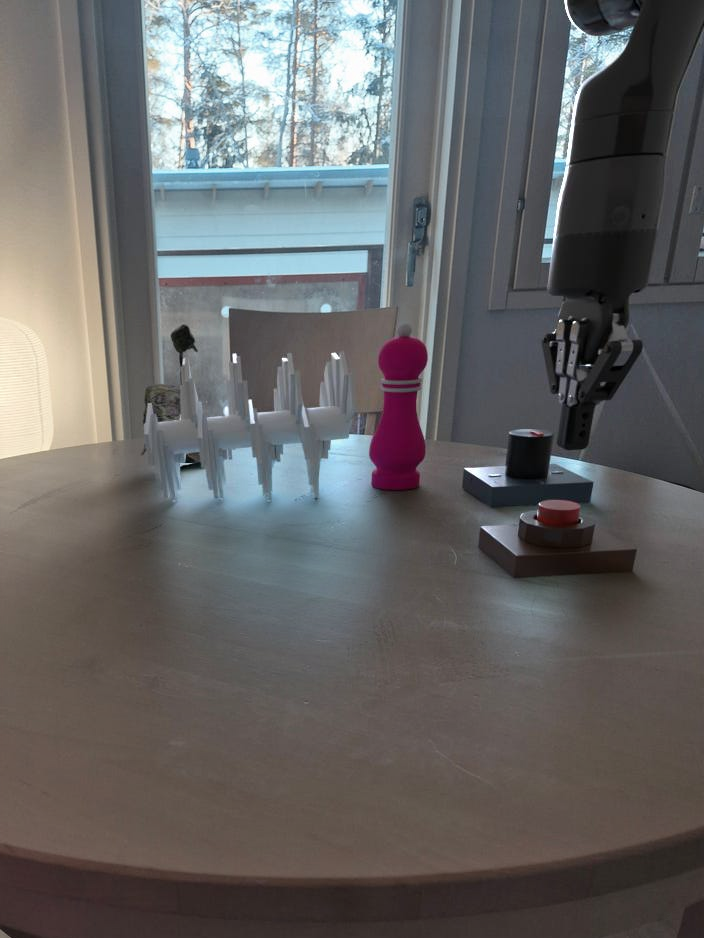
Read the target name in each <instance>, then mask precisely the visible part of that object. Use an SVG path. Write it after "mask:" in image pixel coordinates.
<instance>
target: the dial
mask: <svg viewBox="0 0 704 938" xmlns="http://www.w3.org/2000/svg"><path fill="white" fill-rule="evenodd" d="M554 438H555V433H554V432H553V431H551V430H547V429H534V428H523V429H520V428H519V429H514V430H510V431H509V434H508V441H507V448H506V449H507V450H506V458H505V465H504V466H505V472H504V474H505V475H507V476H509V477H513V478H520V479H539V478H544V477H547V476H548V471H549V464H551V463H550V462H551V457H552V451H553V445H554Z"/></svg>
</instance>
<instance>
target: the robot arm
mask: <svg viewBox="0 0 704 938" xmlns="http://www.w3.org/2000/svg"><path fill="white" fill-rule="evenodd" d="M564 5H565V11H566V13H567V16H568V18H569V20H570V22H571V23H572V24H573V25H574V27H576V28H577V30H579V31H580V32H581V33H584V35H585V34H586V35H588V36H593V37H605V36H606V37H607V36H611V35H615V34H618V33H622V32H624V31H627V30H629V29H632V30H631V32H630V34H629V37H628V39H627V40H626V41H627V42H626V43H625V46H624V48H623V50H622V51H621V52H620V53H619V54H618V56H616V58H614V59H613V60H612V61H611V62H610V63H608V64H607V65H605V66H604V67H602V68H600V69H599V70H597V71H596V72H594V73H593V74H591V75H590V76H589V77H587V78H586V79H585V80H584V81H583V82H582V84H581V85H580V87H579V88H578V91H577V94H576V96H575V102H574V106H573V112H572V119H571V127H570V133H569V141H568V149H567V157H566V163H565V164H566V166H565V171H564V177H563V181H562V185H561V188H560V193H559V197H558V202H557V209H556V216H555V226H554V233H553V239H552V247H551V255H550V263H549V271H548V279H547V288H546V291H547V293H548V294H549V295H550V296H554V297H563V299H562V302H561V306H560V309H559V312H558V315H557V325H556V328H555V330H554V331H553V332H544V333H543V334H542V337H541V349H542V354H543V359H544V364H545V369H546V370H545V371H546V374H547V380H548V385H549V390H550V391H549V392H550V394H551V395H557V401H558V404H559V405H561V412H560V417H559V425H558V431H557V439H556V445H557V446H558V447H559V448H561V449H564V450H566V451H579V450H581V451H582V450H585V449H587V448H588V446H589V444H590V437H591V431H592V424H593V419H594V413H595V407H596V406H599V405H600V404H601V402H604V401H611V400H612V399H613V397H614V396H615V394H617V392H618V389H619V388H620V386H621V385H622V384H623V382H624V380H625V379H626V377H627V376H628V374H629V373H630V371H631V369H632V368H633V366H634V365H635V363H636V361H637V360H638V358H639V357H640V355H641V353H642V351H643V347H644V343H643V340H642V339H640V338H638V339H630V336H629V335H628V332H627V328H628V325H629V322H630V296H631V295H632V294H639V293H641V292H643V291H644V290H646V289H647V287H648V285H649V281H650V276H651V271H652V264H653V258H654V254H655V249H656V243H657V238H658V232H659V227H660V220H661V216H662V215H661V214H662V210H663V204H664V200H665V199H664V197H665V191H666V179H667V178H666V175H667V173H666V172H667V164H668V163H667V162H668V155H669V149H670V144H671V138H672V133H673V127H674V121H675V116H676V110H677V104H678V98H679V94H680V92H681V91H680V90H681V87H682V86H683V83H684V80H685V78H686V76H687V73H688V71H689V69H690V68H689V67H690V65H691V64H692V61H693V59H694V56H695V54H696V52H697V50H698V49H697V48H698V46H699V43H700V40H701V38H702V36H703V33H704V0H564Z"/></svg>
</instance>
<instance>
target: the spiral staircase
mask: <svg viewBox="0 0 704 938" xmlns="http://www.w3.org/2000/svg"><path fill="white" fill-rule="evenodd" d="M330 353H331V355H330V356H331V359H330V361H326V364H325V367H324V372H323V380H324V381H320V385H319V386H320V387H319V402H318V403H319V405H318V406H319V407H318V406H317V407H305V404H304V400H303V392H302V381H301V370H300V369H295V368H294V367H295V366H294V361H293V355H292V352H287V353H286V354H287V355H286V356H287V357H281V366H277V374H276V385H277V386H276V387H277V388H273V408H274V409H273V411H263V412H258V408H254V407H253V400H252V399H250V398H249V389H248V380H243V374H242V361H241V355H237V353H232V361H229V362H228V367H229V368H228V371H229V378H226V379H225V382H226V394H227V395H226V397H227V406H225V407H224V415H221V416H219V415H218V416H209V417H208V416H207V415H208V414H207V413H206V412H204V411H203V403H202V402H203V401H202V400H199V395H198V392H197V388H196V384H195V379H194V378H192V372H191V365H190V357H188V356H185V357H184V356H183V364H182V366H181V367H180V366H179V370H180V369H181V381H180V383H181V382H182V385H181V384H180V385H179V388H180V402H181V414H180V418H179V420H175V421H164V422H158V420H157V416H156V414H153V407H152V403H148V406H147V414H146V423H145V424H144V425H143V436H144V445H145V446H146V451H145V452H146V455H147V459H148V465H149V467H153V475H154V478H155V481H156V484H157V488H158V491H163V499H170V498H171V501H172V500H176V497H177V498H178V491H182V483H181V467H180V463H185V458H186V454H189V453H193V452H200V459H201V462H200V467H201V469H205V474H206V475H205V476H206V481H207V486H208V491H212V492H213V498H214V499H218V498H219V499H220V498H223V499H224V485H227V480H226V477H227V476H226V467H225V460H229V461H230V460H231V461H232V460H233V451H234V450H236V449H247V448H251V454H252V458H256V459H255V460H256V470H257V481H258V482H257V483H258V485H259V486H260V485H261V488H262V490H261V491H262V496H264V497H265V496H266V499H267V500H271V501H272V492H273V468H275V464H276V463H280V462H281V455H284V445H292V444H301V446H302V451H303V455H304V456H303V457H304V459H305V462H306V470H307V479H308V485H309V486H310V487H309V488H310V494H313V497H314V499H315V498H319V499H320V497H319V496H320V469H321V460H323V459H324V460H327V459H329V451H331V444H332V441H337V440H348V439H349V438H350V428H351V427H350V424H351V421H352V419H353V418H354V415H355V413H356V410H357V407H358V401H357V389H356V376H355V375H356V374H355V370H352V371H349V370H348V365H347V361H346V355H345V351H344V350H340V351H339V354H337V352H330ZM338 355H339V356H338ZM271 491H272V492H271ZM267 500H266V501H267Z"/></svg>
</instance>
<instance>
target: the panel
mask: <svg viewBox="0 0 704 938" xmlns="http://www.w3.org/2000/svg"><path fill="white" fill-rule="evenodd" d="M504 472H505V465H503V466H481V467H464V468H463V473H462V474H463V476H462V484H461V488H463V489H464V490H465V491H466V492H467V493H469V494H471V495H472V496H474V497H475V498H476V499H477V500H479V501H481V502H482V503H483V504H485V505H486V506H488V507H489V508H490V509H491V508H492V509H493V508H510V507H529V506H530V507H531V506H532V507H533V506H539V503H540V502H542V501H546V500H565V501H571V502H575V503H577V504H586V503H587V504H588V503H589V504H590V503H591V501H592V495H593V490H594V481H593V480H590V479H588V478H586V477H584V476H582V475H580V474H578V473H575V472H573V471H571V470H569V469H567V468H565V467H563V466H561V465H559V464H557V463H550V464H549V471H548V476H547V477H544V478H539V479H520V478H513V477H509V476H507V475H505V474H504Z"/></svg>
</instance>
